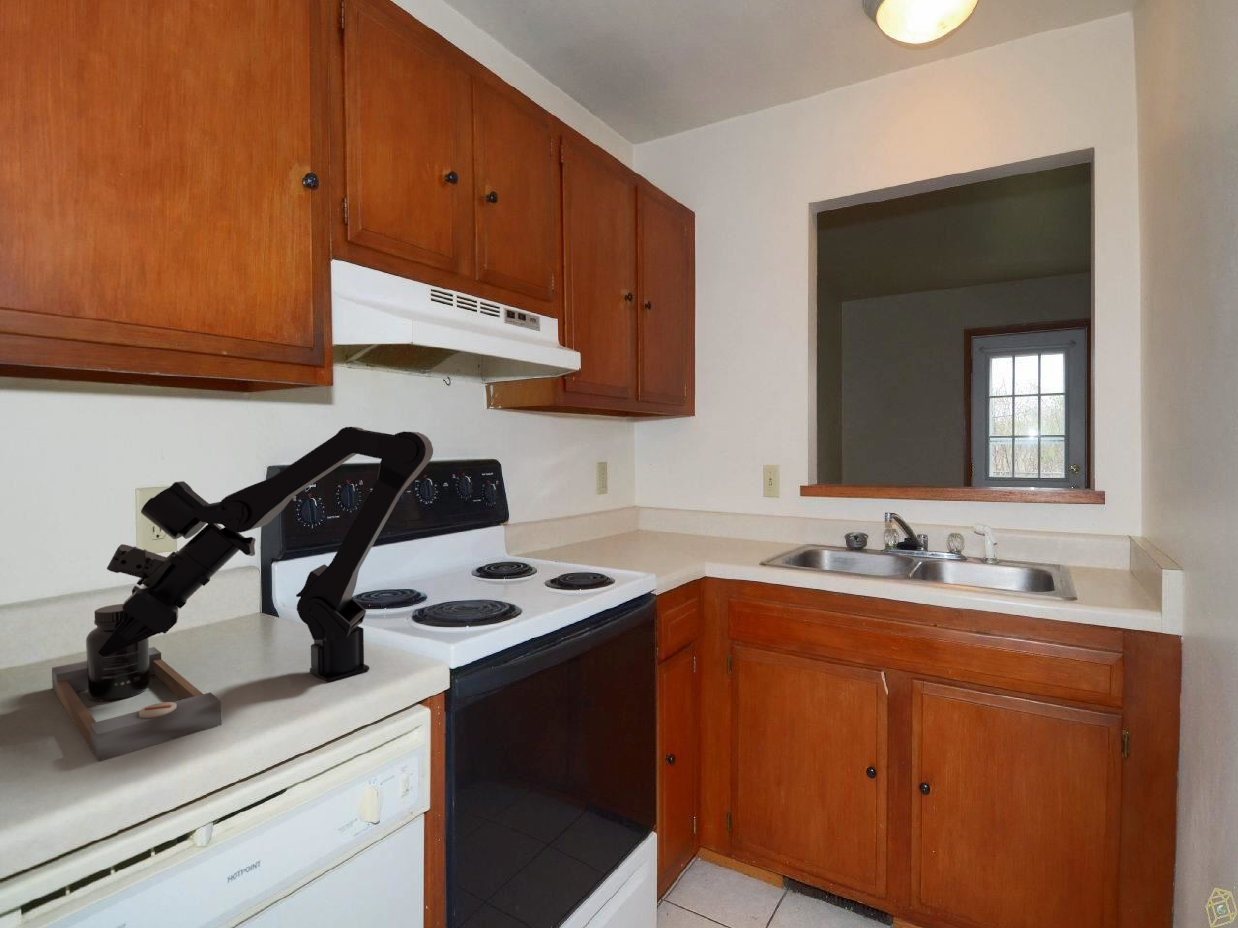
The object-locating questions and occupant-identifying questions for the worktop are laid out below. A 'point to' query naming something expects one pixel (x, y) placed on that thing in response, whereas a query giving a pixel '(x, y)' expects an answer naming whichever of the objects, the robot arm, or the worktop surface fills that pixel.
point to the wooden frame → (141, 725)
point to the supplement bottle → (115, 661)
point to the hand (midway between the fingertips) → (105, 647)
